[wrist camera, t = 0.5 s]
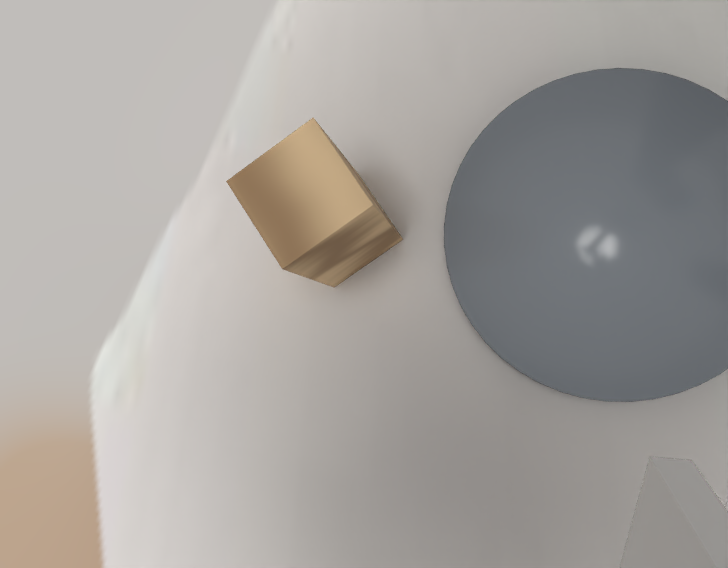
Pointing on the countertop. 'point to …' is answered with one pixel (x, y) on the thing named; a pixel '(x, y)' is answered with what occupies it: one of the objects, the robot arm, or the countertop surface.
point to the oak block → (313, 208)
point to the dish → (599, 234)
